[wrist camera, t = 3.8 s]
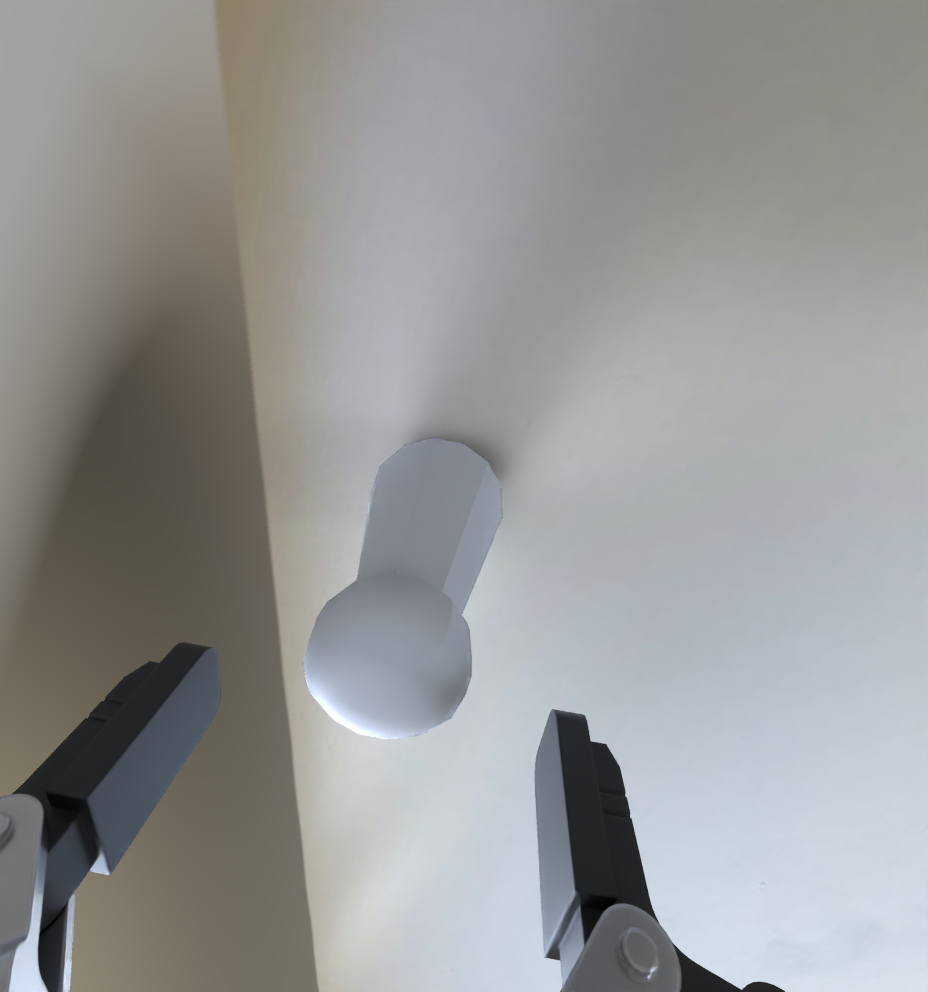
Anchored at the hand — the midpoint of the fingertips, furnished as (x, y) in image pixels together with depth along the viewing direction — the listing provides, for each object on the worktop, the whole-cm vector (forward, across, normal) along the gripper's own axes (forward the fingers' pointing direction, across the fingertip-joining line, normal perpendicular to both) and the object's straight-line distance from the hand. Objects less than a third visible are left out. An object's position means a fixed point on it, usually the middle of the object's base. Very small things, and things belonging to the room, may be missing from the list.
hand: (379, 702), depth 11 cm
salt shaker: (+13, 0, 0) cm, 13 cm away
